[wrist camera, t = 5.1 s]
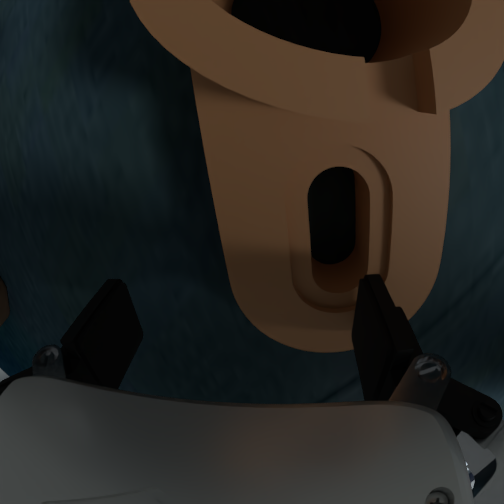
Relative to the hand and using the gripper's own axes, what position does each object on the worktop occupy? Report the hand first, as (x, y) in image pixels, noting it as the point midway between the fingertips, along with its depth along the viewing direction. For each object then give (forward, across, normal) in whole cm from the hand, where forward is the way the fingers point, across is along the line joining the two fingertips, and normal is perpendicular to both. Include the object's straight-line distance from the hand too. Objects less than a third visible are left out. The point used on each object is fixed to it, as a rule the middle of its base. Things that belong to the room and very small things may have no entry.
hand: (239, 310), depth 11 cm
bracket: (+3, -4, -6) cm, 8 cm away
